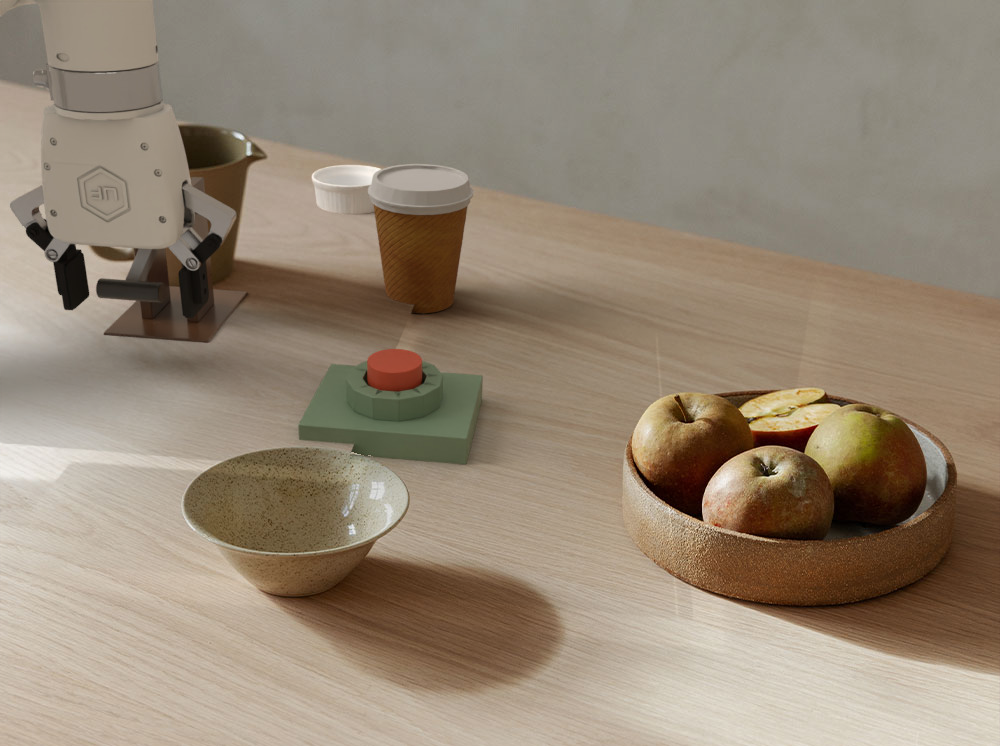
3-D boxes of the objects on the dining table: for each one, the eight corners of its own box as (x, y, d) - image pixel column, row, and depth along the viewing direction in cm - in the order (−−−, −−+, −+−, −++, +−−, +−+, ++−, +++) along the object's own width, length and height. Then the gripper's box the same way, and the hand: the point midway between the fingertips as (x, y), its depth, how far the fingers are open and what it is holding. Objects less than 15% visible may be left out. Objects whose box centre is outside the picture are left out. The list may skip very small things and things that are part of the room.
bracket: (209, 353, 92) (196, 206, 87) (104, 345, 93) (85, 198, 87) (248, 303, 102) (239, 168, 96) (153, 296, 103) (139, 161, 97)
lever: (162, 310, 87) (155, 289, 85) (101, 305, 87) (92, 284, 85) (204, 204, 94) (198, 183, 92) (147, 201, 95) (140, 179, 93)
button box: (299, 451, 79) (296, 401, 77) (331, 388, 88) (330, 342, 86) (466, 465, 78) (467, 415, 76) (482, 399, 87) (483, 354, 85)
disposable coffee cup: (490, 299, 105) (494, 176, 100) (427, 329, 98) (428, 199, 93) (414, 274, 110) (414, 156, 105) (348, 302, 103) (345, 177, 98)
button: (362, 391, 79) (361, 370, 79) (373, 367, 83) (373, 346, 82) (417, 396, 79) (417, 374, 78) (426, 371, 83) (426, 350, 82)
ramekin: (299, 217, 125) (297, 180, 123) (333, 195, 132) (332, 160, 130) (372, 227, 122) (371, 189, 121) (402, 205, 130) (402, 169, 128)
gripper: (-36, 93, 77) (6, 319, 84) (207, 106, 76) (227, 334, 83) (17, 72, 84) (51, 283, 91) (240, 83, 82) (256, 296, 90)
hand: (135, 307), depth 87 cm, fingers open, 9 cm apart
